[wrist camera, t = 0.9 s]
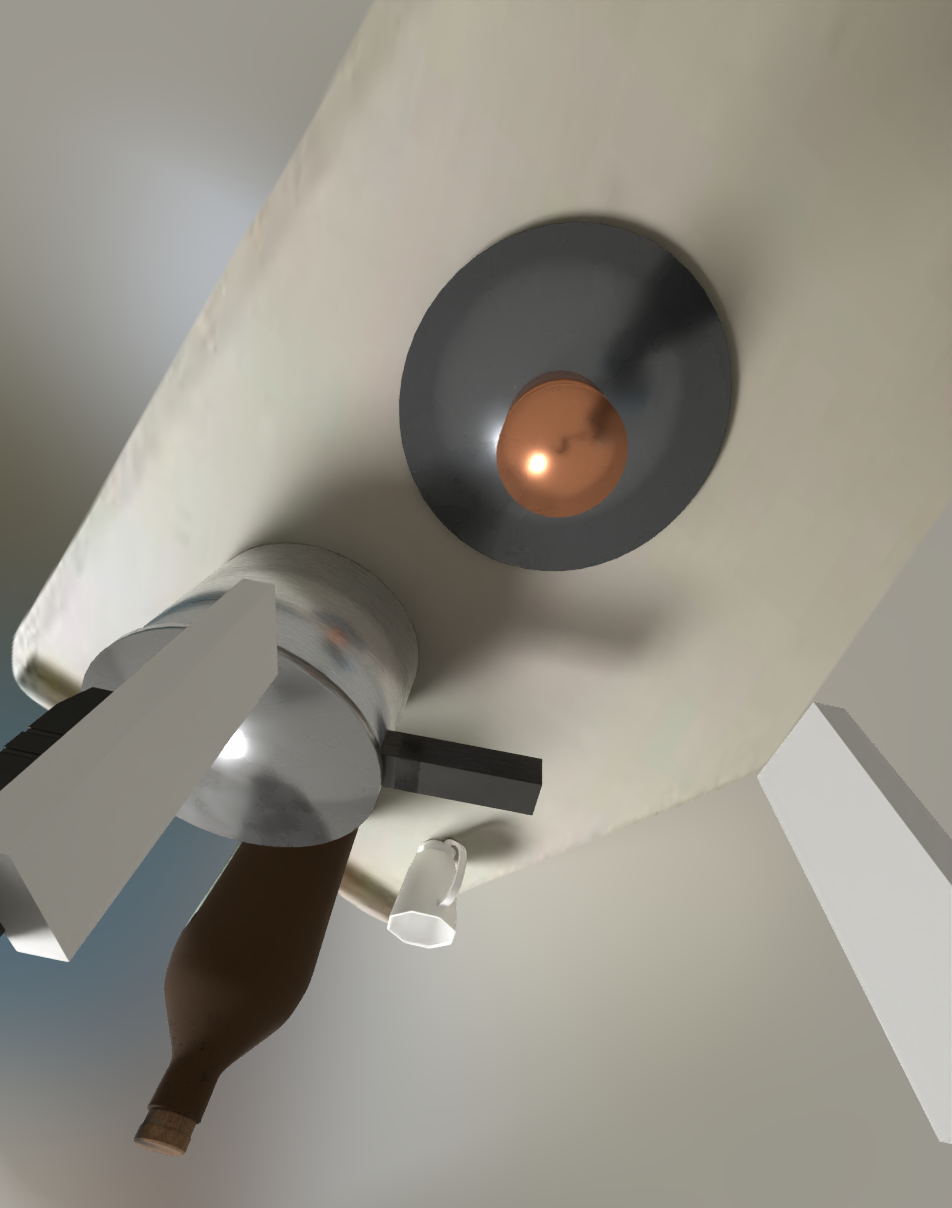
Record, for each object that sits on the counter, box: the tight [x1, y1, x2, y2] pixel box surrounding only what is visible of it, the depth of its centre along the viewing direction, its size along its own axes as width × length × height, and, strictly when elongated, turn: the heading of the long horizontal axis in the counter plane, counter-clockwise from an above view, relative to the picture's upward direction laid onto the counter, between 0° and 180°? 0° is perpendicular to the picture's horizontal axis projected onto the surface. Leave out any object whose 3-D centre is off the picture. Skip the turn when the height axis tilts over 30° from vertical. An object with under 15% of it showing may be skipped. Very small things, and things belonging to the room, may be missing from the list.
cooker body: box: [81, 543, 542, 847], centre depth 34 cm, size 28×19×12 cm, turn 82°
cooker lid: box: [399, 222, 732, 571], centre depth 25 cm, size 19×19×8 cm
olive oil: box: [134, 827, 359, 1156], centre depth 39 cm, size 11×11×25 cm
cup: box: [387, 839, 467, 949], centre depth 49 cm, size 7×10×8 cm
